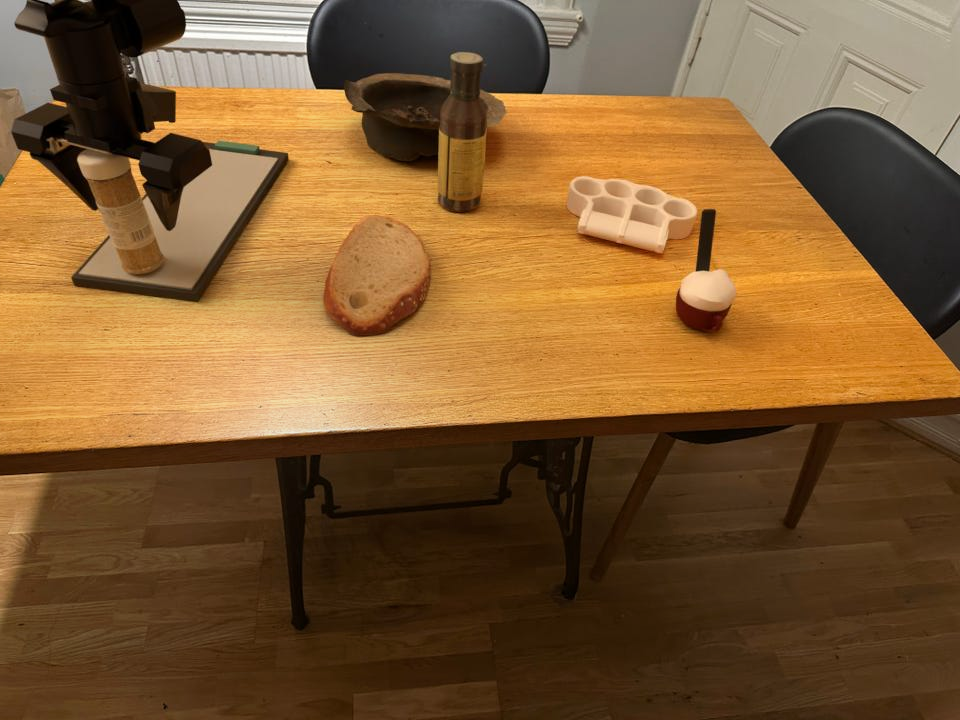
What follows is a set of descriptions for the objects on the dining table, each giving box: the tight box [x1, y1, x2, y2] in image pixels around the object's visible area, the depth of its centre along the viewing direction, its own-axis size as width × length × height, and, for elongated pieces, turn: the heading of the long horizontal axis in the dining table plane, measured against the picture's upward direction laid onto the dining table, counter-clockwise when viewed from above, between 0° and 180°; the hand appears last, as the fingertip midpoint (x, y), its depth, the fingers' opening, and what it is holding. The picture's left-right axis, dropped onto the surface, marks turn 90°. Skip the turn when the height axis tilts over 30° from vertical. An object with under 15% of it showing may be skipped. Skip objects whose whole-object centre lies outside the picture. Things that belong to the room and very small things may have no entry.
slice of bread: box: [322, 214, 432, 337], centre depth 82 cm, size 18×18×4 cm
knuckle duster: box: [565, 175, 698, 254], centre depth 97 cm, size 3×18×15 cm
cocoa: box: [675, 208, 738, 333], centre depth 79 cm, size 10×6×12 cm, turn 167°
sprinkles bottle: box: [77, 149, 164, 274], centre depth 74 cm, size 5×5×14 cm
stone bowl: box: [343, 72, 508, 162], centre depth 108 cm, size 25×25×9 cm
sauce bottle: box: [437, 51, 488, 213], centre depth 91 cm, size 6×6×20 cm
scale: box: [71, 140, 289, 303], centre depth 89 cm, size 34×14×2 cm, turn 175°
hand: (133, 218), depth 75 cm, fingers open, 9 cm apart
